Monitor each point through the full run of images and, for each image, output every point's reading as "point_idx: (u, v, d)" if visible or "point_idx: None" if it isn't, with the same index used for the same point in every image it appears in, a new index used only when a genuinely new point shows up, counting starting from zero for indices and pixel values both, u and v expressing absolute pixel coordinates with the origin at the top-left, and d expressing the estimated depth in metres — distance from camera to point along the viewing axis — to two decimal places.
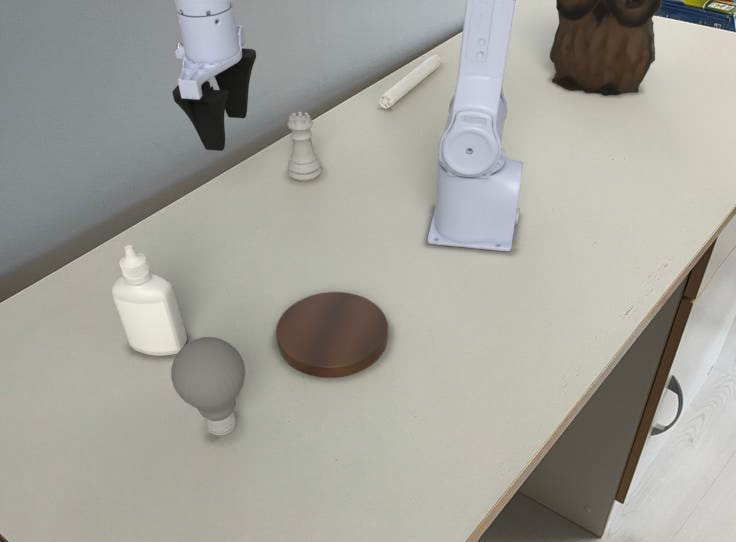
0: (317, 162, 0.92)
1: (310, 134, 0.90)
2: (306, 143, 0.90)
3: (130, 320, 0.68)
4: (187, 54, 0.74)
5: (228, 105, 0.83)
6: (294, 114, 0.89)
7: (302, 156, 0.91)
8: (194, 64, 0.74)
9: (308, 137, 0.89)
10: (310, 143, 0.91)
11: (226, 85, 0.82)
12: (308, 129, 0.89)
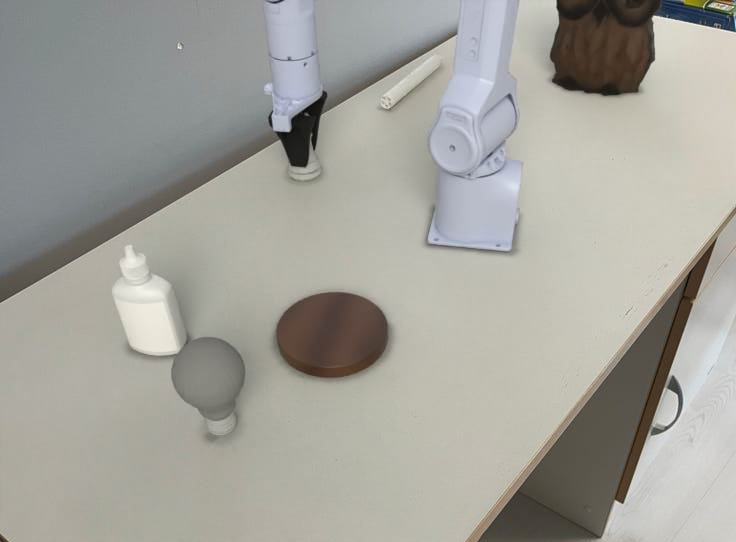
0: (317, 163, 0.92)
1: None
2: None
3: (130, 320, 0.68)
4: (276, 91, 0.84)
5: None
6: None
7: None
8: (282, 100, 0.84)
9: None
10: (310, 143, 0.90)
11: None
12: None
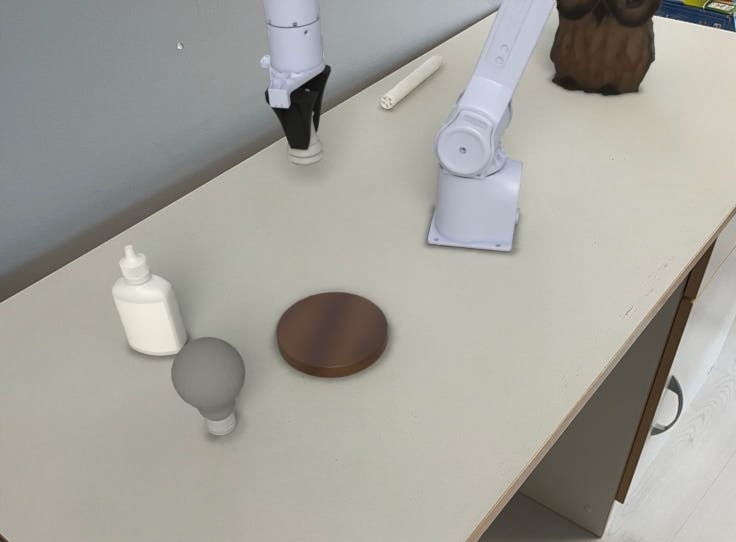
0: (320, 145, 0.83)
1: None
2: None
3: (130, 320, 0.68)
4: (274, 63, 0.76)
5: None
6: None
7: None
8: (281, 73, 0.75)
9: None
10: (311, 123, 0.82)
11: None
12: None
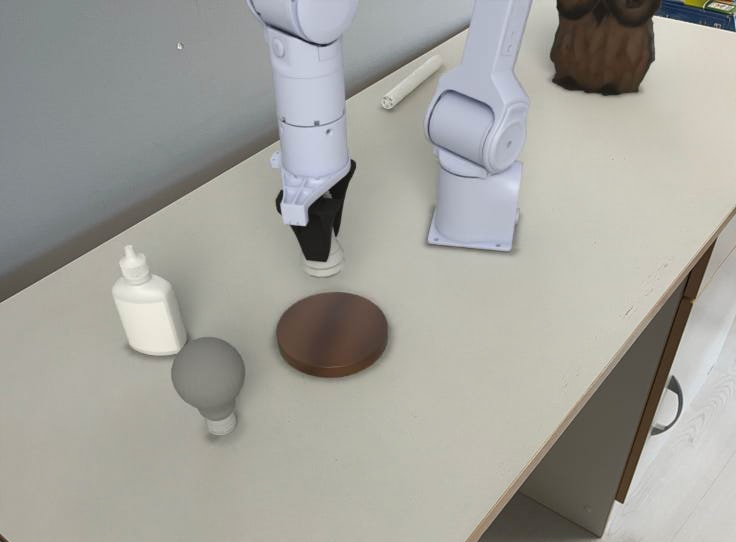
0: (340, 253, 0.68)
1: None
2: None
3: (130, 320, 0.68)
4: (287, 166, 0.60)
5: None
6: None
7: None
8: (296, 178, 0.60)
9: None
10: None
11: None
12: None
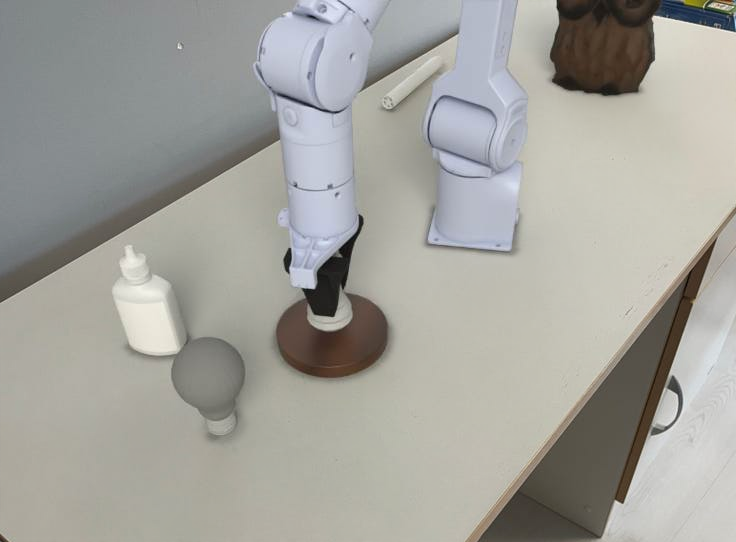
0: (348, 307, 0.68)
1: None
2: None
3: (130, 320, 0.68)
4: (295, 226, 0.60)
5: None
6: None
7: None
8: (304, 239, 0.60)
9: None
10: None
11: None
12: None
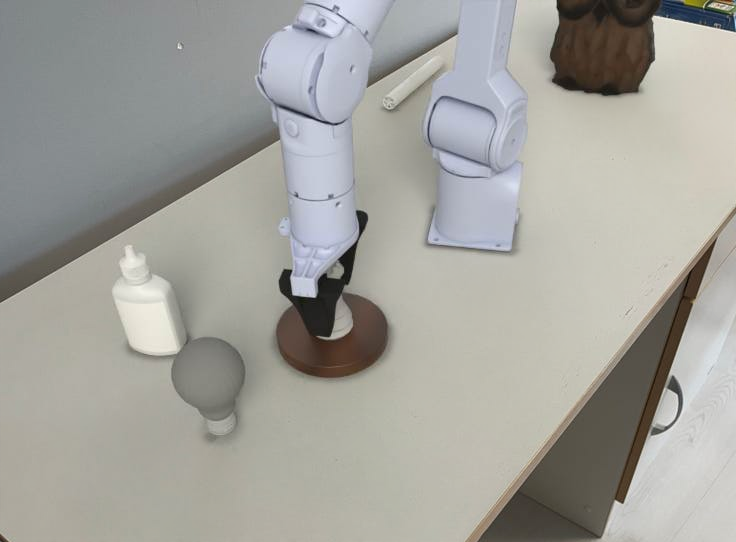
0: (348, 316, 0.69)
1: None
2: None
3: (130, 320, 0.68)
4: (296, 235, 0.61)
5: None
6: None
7: None
8: (305, 248, 0.60)
9: None
10: None
11: None
12: None
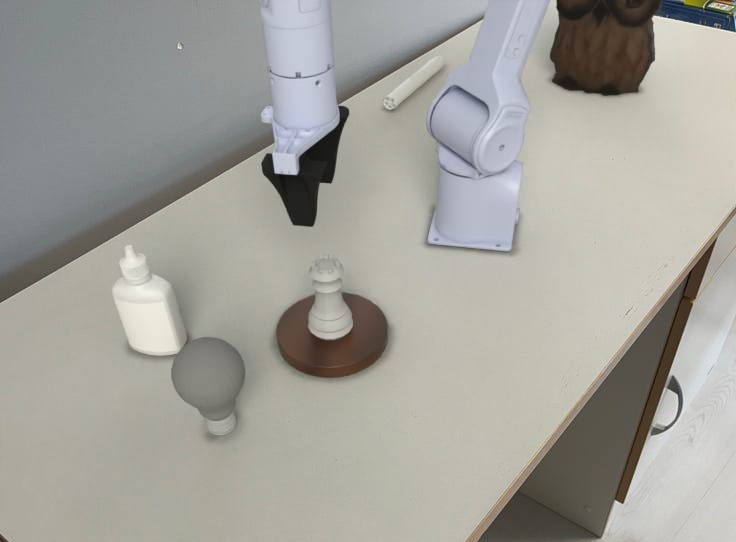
0: (348, 316, 0.69)
1: (339, 283, 0.66)
2: (333, 295, 0.66)
3: (130, 320, 0.68)
4: (278, 119, 0.62)
5: None
6: (318, 258, 0.65)
7: (329, 310, 0.67)
8: (287, 131, 0.62)
9: (337, 288, 0.66)
10: (339, 294, 0.67)
11: (313, 147, 0.70)
12: (337, 279, 0.65)
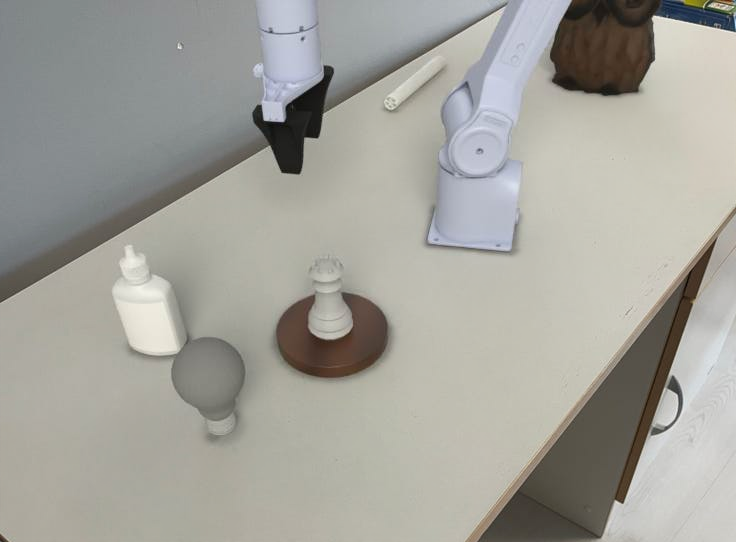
0: (348, 316, 0.69)
1: (339, 283, 0.66)
2: (333, 295, 0.66)
3: (130, 320, 0.68)
4: (267, 73, 0.69)
5: None
6: (318, 258, 0.65)
7: (329, 310, 0.67)
8: (275, 83, 0.69)
9: (337, 288, 0.66)
10: (339, 294, 0.67)
11: (301, 104, 0.77)
12: (337, 279, 0.65)
